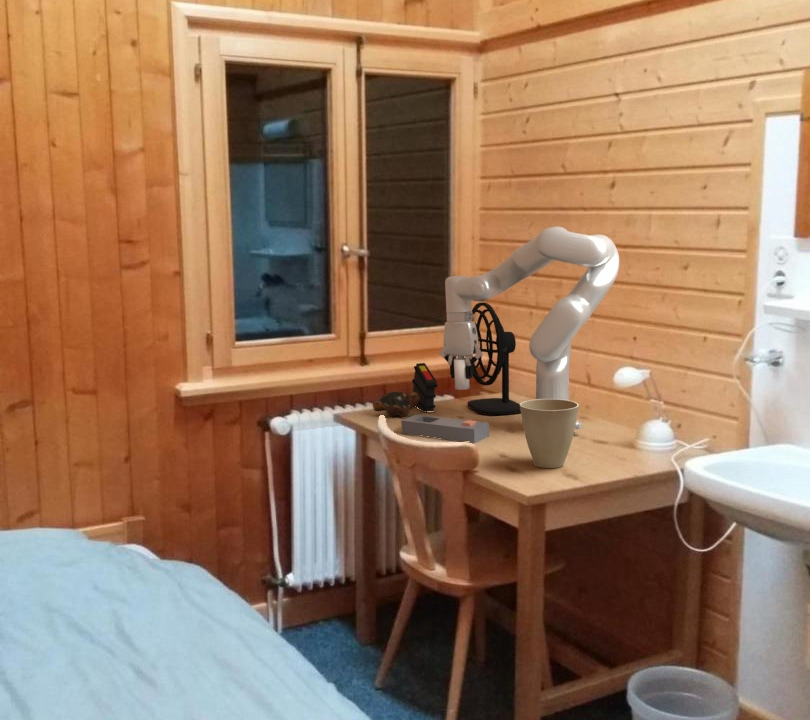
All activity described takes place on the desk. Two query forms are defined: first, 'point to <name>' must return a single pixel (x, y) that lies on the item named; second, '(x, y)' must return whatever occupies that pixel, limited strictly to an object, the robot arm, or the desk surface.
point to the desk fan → (504, 347)
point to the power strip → (445, 428)
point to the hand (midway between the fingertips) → (461, 377)
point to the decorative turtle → (397, 403)
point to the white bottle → (460, 373)
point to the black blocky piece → (424, 387)
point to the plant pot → (549, 429)
